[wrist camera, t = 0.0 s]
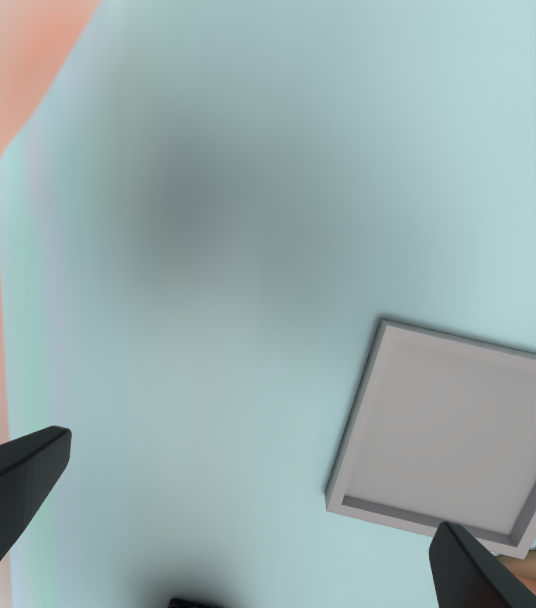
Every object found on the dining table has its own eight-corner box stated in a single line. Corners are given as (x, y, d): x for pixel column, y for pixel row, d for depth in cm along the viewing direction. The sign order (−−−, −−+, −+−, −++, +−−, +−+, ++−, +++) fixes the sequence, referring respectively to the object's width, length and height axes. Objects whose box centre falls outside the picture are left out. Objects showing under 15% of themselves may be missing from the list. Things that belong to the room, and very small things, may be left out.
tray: (510, 539, 25) (524, 559, 24) (324, 494, 26) (326, 511, 24) (596, 368, 22) (618, 379, 20) (380, 318, 22) (386, 325, 21)
